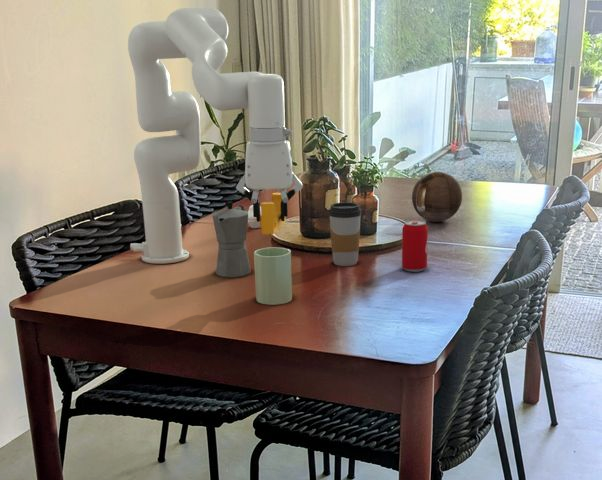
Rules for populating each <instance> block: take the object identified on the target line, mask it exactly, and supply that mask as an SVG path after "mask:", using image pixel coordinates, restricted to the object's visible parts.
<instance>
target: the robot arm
mask: <svg viewBox="0 0 602 480" xmlns="http://www.w3.org/2000/svg"><path fill="white" fill-rule="evenodd" d="M228 35H229V25H228V21H227V18H226V17H225V15H224V14H223V12H221V11H220V10H218V9H217V8H214V7H182V8H178V9H176V10H173V11H172V12H171V13H169V14H168V16H167V17H166V19H165V21H164V20H161V21H160V20H159V21H148V22H147V21H146V22H141V23H139V24H136V25H135V26H134V27H132V28H131V30H130V32H129V34H128V39H127V51H128V55H129V60H130V63H131V66H132V69H133V73H134V81H135V95H136V97H135V98H136V112H137V113H136V114H137V120H138V121H137V122H138V125H139V126H140V128H141V129H142V130H143V131H144V132H147V133H163V132H173V131H175V133H176V134H173V135H164V136H162V135H161V136H154V137H149V138H145V139H143V140H141V141H139V142H138V143H137V144H136V145H135V147H134V150H133V159H134V160H133V161H134V163H135V167H136V171H137V175H138V180H139V185H140V193H141V202H142V203H141V205H142V214H143V215H142V216H143V226H144V236H145V237H144V238H145V241H142V242H141V243H137V242H133V243H132V242H131V243H130V245H129V246H130V251H131V252H134V253H139V252H142V253H141V255H140V256H141V261H143V262H145V263H148V264H157V265H165V264H166V265H167V264H174V263H179V262H182V261H185V260H187V259H188V258H189V257H190V253H189V251H188V250H187V249H184V248H183V247H184V246H183V237H182V223H181V222H182V221H181V211H180V197H179V195H180V194H179V191H178V187H177V186H176V184H175V183H174V182H173V180H172V179H171V178H170V175H172V174H177V173H178V174H179V173H184V172H190V171H193V170H195V169H197V168H198V167H199V165H200V163H201V159H202V158H201V157H202V149H201V148H202V140H201V139H202V137H201V117H200V108H199V104H198V103H197V100H196V99H195V97H194V95H193V94H192V93H190V92H188V91H185V90H176V91H172V90H171V78H170V73H169V70H168V68H167V67H166V66H165V64H164V63H163V61H162V60H167V59H171V60H172V59H188V60H189V61H190V62H191V63H192V66H191V76H192V82H193V85H194V88H195V90H196V92H197V93H198V95H199V96H200V97H201V98H202V100H204V102H206V103H207V104H208V105H209V106H210V107H212V108H213V109H215V110H217V111H223V112H224V111H233V110H234V111H235V110H242V109H244V110H248V122H249V141H247V142H246V147H245V164H244V165H245V166H244V167H245V169H244V175H243V176H242V177H241V179H240V180H239V182H238V184H237V185H236V186H235V189H236V190H237V191H238V192H240V193H241V194H242V195H244V196H245V198H247V199H248V200H249V201H250V203H251V204H252V205H253V216H254V217H256V219H257V222H259V221H260V216H261V214H260V207H261V201H260V199H259V194H260V191H271V190H275V191H276V190H279V193H281V197H282V200H281V221H284V220H285V217H286V218H287V217H288V215H289V213H288V212H289V211H288V210H289V209H288V202H289V201H290V200H291V199H292V198H293V197H294V195H296V194H297V193H299V191H301V190H302V189H304V184H303V183H302V181H301V180H300V179H299V178H298V177H297V175H296V174H295V173H294V171H293V158H292V155H293V154H292V149H291V144H290V141H289V140H286V138H287V137H293V129H289V128H287V127H286V116H285V115H286V114H285V110H286V109H285V85H284V83H285V82H284V79H283V77H282V76H281V75H279V74H277V73H264V72H260V71H239V72H226V73H225V72H224V73H219V72H217V71H218V70H219V69H220V68H221V67H222V65H224V63H225V61H226V59H227V56H228V46H227V43H226V40H227V38H228ZM293 185H294V186H293ZM292 186H293V187H292ZM291 187H292V188H291ZM288 189H289V191H287V190H288ZM251 190H252V191H251Z"/></svg>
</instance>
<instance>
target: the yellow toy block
mask: <svg viewBox="0 0 602 480" xmlns="http://www.w3.org/2000/svg"><path fill="white" fill-rule="evenodd" d="M281 200H282V197H281V193H280V192H273V193H271V201H262V202H260V207H261V216H260V229H261V235H274V234H276V233H277V231H278V230H279V229H280V228H281V227H282V226H283V225H284V224H285V223H286V222H287V217H285V220H284V221H281Z"/></svg>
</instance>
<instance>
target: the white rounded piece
mask: <svg viewBox="0 0 602 480" xmlns="http://www.w3.org/2000/svg"><path fill="white" fill-rule="evenodd" d="M247 211H248V223H247V225H249V227H250V228H251V229H259V228H260V221H259V222H257V219H256V217H254V216H253V204H252V205H250V206H249V208H248V210H247ZM260 214H261V206H260ZM260 229H261V228H260Z"/></svg>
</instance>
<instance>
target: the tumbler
mask: <svg viewBox="0 0 602 480" xmlns="http://www.w3.org/2000/svg"><path fill="white" fill-rule="evenodd" d="M253 263H254V287H255V289H254V290H255V301H256V302H257V303H259V304H261V305H267V306H268V305H269V306H272V305H273V306H276V305H283V304H284V305H285V304H287V303H289V302H291V301H292V300H293V276H292V273H293V271H292V270H293V269H292V250H291V249H289V248H285V247H278V246H277V247H276V246H275V247H263V248H259V249H255V250H254V252H253Z"/></svg>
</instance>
